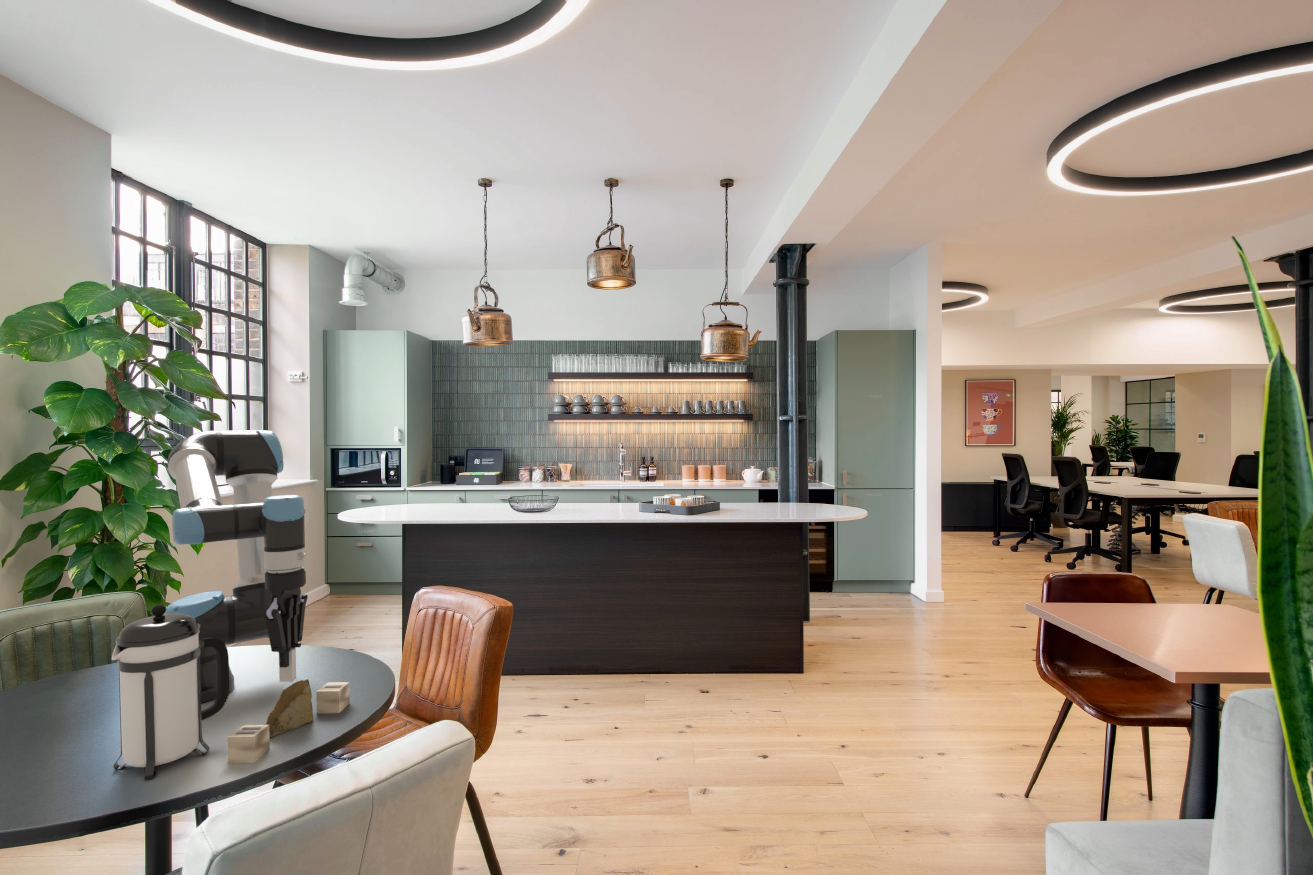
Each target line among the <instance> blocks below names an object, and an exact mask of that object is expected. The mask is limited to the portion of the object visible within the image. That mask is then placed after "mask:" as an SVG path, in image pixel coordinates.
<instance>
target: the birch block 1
mask: <svg viewBox="0 0 1313 875" xmlns="http://www.w3.org/2000/svg"><path fill="white" fill-rule="evenodd" d="M226 738H227V740H226V741H227V745H226V746H227V764H244V763H246V764H247V763H248V764H249V763H250V764H251V763H256V762H257V761H258V760H259V759H260V758H262V757H263V756H264V755H265V754H266V753H268V752H269V751H270V748H271V747H270V745H271V744H270V738H271V737H270V738H269V725H266V724H244V725H242V726H240V727H238V729H237V730H234V732H232V733H231V734H229V735H228V736H227V737H226Z"/></svg>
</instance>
